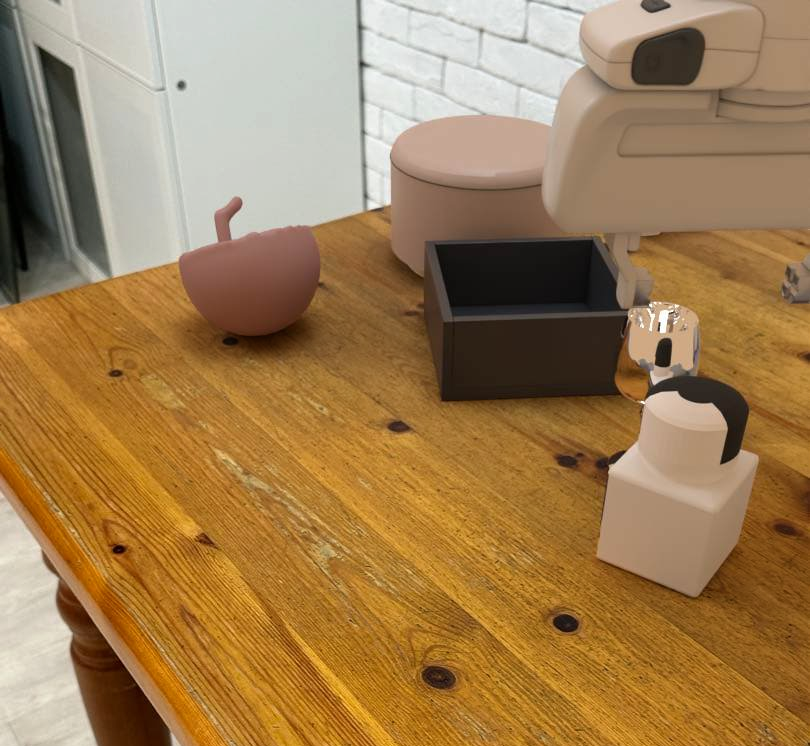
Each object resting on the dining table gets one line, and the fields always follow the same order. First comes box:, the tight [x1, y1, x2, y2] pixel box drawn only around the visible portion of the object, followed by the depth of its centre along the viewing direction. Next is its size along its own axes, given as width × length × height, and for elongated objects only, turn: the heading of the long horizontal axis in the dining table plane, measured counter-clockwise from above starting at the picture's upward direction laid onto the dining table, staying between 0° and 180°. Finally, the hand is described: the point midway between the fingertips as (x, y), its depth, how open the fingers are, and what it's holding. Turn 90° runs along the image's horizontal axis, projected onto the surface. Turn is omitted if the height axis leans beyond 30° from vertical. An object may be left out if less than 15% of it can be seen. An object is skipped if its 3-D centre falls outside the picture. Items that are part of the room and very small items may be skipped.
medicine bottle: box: [595, 375, 760, 598], centre depth 65 cm, size 7×7×12 cm
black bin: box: [423, 235, 631, 402], centre depth 88 cm, size 16×16×7 cm
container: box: [389, 114, 572, 278], centre depth 102 cm, size 18×18×12 cm
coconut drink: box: [178, 196, 321, 337], centre depth 90 cm, size 12×12×12 cm
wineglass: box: [606, 301, 701, 471], centre depth 73 cm, size 6×6×12 cm
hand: (715, 302), depth 58 cm, fingers open, 8 cm apart
